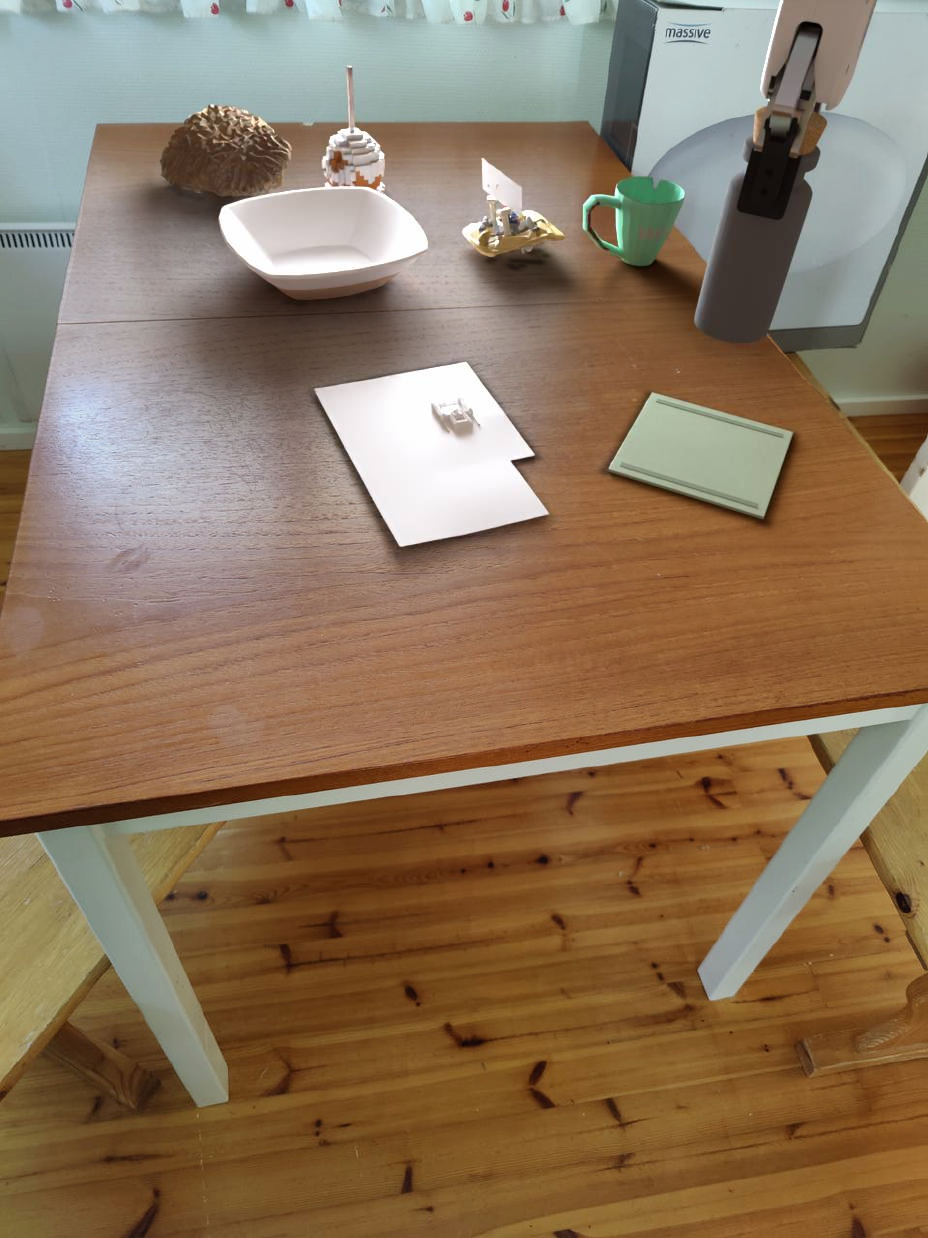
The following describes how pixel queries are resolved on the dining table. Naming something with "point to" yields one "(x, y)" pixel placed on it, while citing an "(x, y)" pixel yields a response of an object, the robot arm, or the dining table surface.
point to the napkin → (704, 454)
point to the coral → (225, 153)
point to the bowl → (323, 240)
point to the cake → (507, 219)
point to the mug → (638, 217)
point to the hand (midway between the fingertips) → (769, 194)
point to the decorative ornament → (353, 154)
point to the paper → (433, 452)
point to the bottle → (754, 251)
